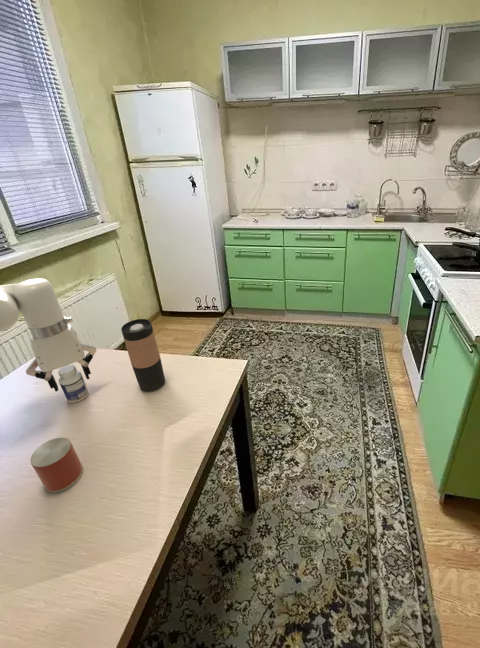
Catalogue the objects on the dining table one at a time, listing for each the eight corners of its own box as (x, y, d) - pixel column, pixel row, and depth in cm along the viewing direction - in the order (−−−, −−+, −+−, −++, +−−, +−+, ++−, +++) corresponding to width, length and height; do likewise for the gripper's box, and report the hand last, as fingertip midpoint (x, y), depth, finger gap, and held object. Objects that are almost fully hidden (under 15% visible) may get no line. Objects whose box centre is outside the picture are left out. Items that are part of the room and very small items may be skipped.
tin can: (39, 497, 65) (23, 471, 62) (51, 467, 72) (37, 441, 68) (78, 487, 67) (65, 461, 64) (86, 458, 73) (75, 433, 70)
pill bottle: (68, 393, 93) (56, 366, 88) (89, 387, 95) (78, 360, 90) (66, 405, 88) (53, 377, 84) (88, 399, 91) (77, 371, 86)
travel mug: (134, 383, 96) (116, 325, 87) (160, 371, 100) (145, 315, 91) (144, 396, 91) (126, 336, 82) (170, 384, 95) (155, 325, 86)
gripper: (85, 311, 89) (103, 363, 97) (5, 333, 79) (33, 389, 87) (90, 321, 83) (109, 376, 91) (5, 346, 74) (35, 405, 82)
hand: (72, 382), depth 89 cm, fingers open, 6 cm apart
